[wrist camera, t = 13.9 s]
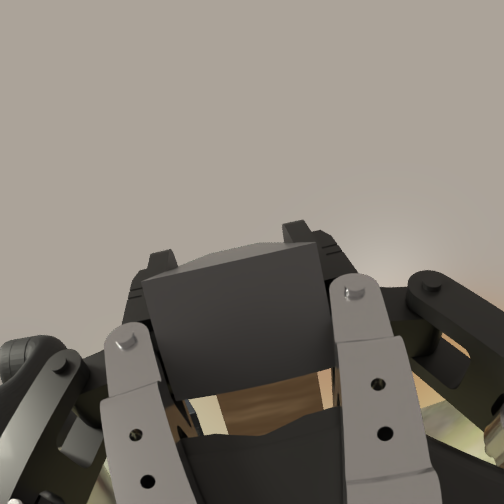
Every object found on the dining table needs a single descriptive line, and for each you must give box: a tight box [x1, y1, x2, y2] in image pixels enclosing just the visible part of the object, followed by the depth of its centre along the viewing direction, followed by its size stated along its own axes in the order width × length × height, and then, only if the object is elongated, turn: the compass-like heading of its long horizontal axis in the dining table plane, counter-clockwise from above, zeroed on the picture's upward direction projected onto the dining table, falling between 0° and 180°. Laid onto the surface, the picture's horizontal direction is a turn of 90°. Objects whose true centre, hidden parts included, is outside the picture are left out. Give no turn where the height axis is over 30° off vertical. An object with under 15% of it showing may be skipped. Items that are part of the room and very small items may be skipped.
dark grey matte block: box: [141, 242, 335, 401], centre depth 17 cm, size 19×4×3 cm, turn 3°
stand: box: [216, 372, 323, 436], centre depth 42 cm, size 12×12×37 cm
